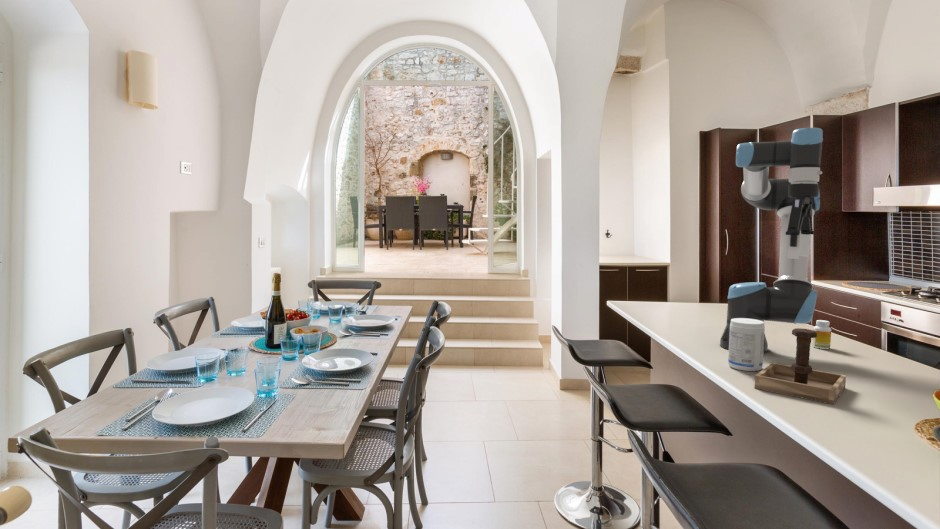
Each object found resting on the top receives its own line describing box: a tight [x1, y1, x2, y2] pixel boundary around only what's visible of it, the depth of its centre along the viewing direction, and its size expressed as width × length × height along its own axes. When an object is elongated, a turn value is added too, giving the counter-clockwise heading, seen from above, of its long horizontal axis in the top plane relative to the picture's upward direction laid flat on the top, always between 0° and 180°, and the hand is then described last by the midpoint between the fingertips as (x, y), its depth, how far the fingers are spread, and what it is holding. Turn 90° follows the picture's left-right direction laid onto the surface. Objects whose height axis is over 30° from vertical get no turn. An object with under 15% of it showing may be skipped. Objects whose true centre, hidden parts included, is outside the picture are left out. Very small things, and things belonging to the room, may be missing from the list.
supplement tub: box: [727, 318, 765, 372], centre depth 166 cm, size 10×10×15 cm
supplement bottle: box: [811, 319, 832, 350], centre depth 193 cm, size 5×5×10 cm
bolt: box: [790, 327, 817, 384], centre depth 146 cm, size 6×5×15 cm
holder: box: [753, 362, 847, 405], centre depth 147 cm, size 18×18×4 cm
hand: (798, 257), depth 157 cm, fingers open, 13 cm apart
